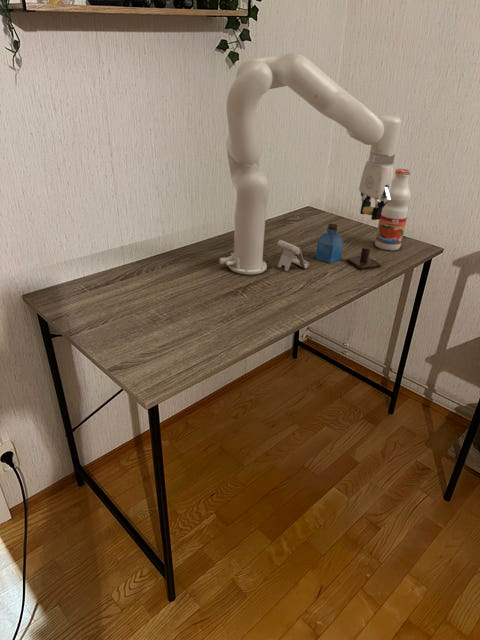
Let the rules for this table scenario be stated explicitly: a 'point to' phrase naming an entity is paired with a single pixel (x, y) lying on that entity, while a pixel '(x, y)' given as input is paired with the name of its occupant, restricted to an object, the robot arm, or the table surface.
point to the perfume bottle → (330, 245)
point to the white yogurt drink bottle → (394, 213)
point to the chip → (368, 210)
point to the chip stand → (363, 260)
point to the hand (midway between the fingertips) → (370, 216)
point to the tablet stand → (291, 256)
